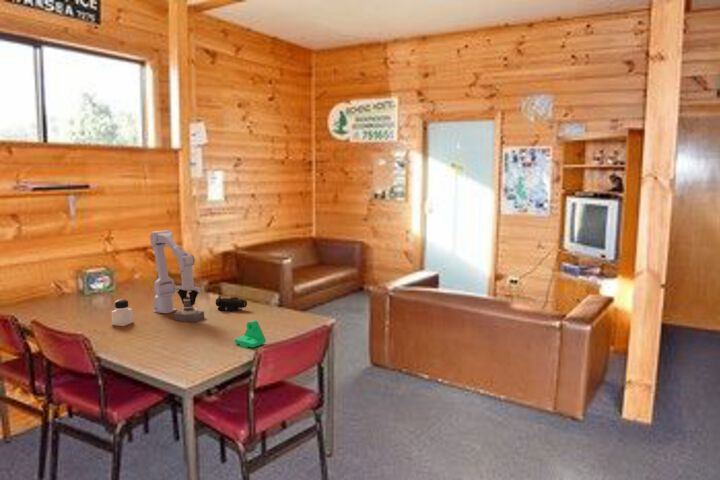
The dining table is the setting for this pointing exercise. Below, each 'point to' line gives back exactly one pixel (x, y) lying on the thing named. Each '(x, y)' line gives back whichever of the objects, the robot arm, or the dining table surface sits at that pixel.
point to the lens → (187, 303)
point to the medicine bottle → (122, 313)
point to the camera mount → (251, 336)
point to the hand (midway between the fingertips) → (188, 304)
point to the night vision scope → (230, 303)
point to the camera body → (189, 315)
